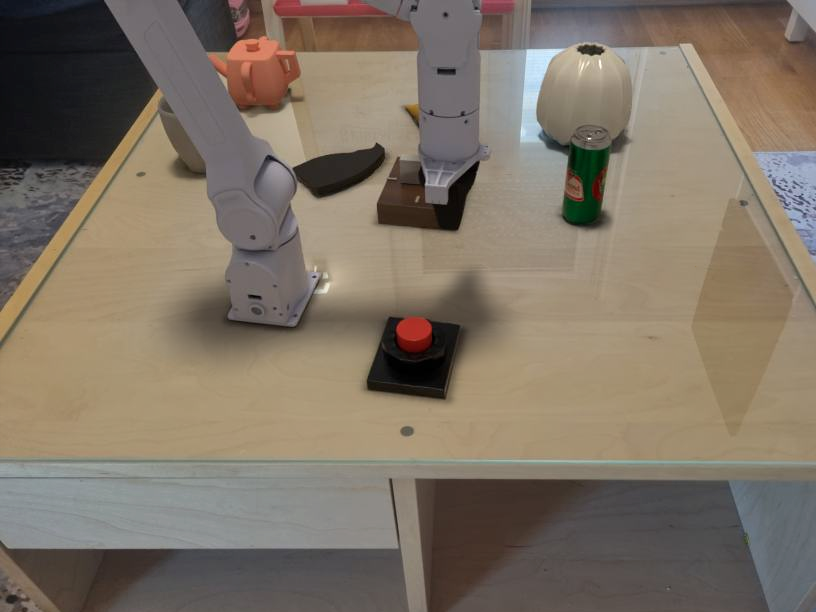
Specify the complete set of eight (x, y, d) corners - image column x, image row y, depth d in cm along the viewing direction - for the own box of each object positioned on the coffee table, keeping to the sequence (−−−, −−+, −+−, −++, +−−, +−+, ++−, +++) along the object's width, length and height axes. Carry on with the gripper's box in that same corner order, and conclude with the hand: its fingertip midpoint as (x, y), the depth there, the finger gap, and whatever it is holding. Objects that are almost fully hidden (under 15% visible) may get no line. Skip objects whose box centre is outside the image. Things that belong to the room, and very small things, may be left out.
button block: (444, 398, 75) (444, 377, 73) (367, 388, 76) (364, 368, 74) (460, 332, 82) (460, 311, 80) (389, 324, 83) (387, 303, 81)
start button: (428, 355, 76) (428, 342, 74) (393, 350, 76) (392, 338, 75) (435, 331, 78) (434, 318, 77) (401, 327, 79) (400, 315, 77)
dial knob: (400, 183, 99) (399, 157, 96) (403, 176, 100) (401, 151, 97) (445, 186, 98) (445, 161, 96) (447, 180, 99) (447, 155, 97)
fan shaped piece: (402, 170, 107) (402, 159, 106) (317, 199, 101) (315, 189, 100) (373, 146, 112) (372, 136, 111) (290, 173, 106) (288, 162, 105)
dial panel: (454, 230, 96) (454, 209, 94) (377, 222, 97) (375, 202, 95) (468, 181, 105) (469, 161, 103) (397, 175, 106) (396, 155, 104)
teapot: (211, 98, 124) (197, 39, 117) (275, 78, 129) (265, 21, 122) (245, 123, 117) (232, 63, 110) (310, 101, 123) (302, 42, 116)
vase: (528, 152, 111) (535, 63, 102) (543, 110, 121) (550, 25, 111) (622, 164, 108) (637, 74, 99) (629, 120, 118) (644, 34, 109)
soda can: (555, 209, 100) (564, 126, 91) (588, 202, 101) (600, 119, 93) (572, 230, 96) (583, 145, 88) (606, 222, 98) (621, 138, 89)
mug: (243, 171, 107) (229, 107, 100) (179, 184, 104) (161, 119, 97) (227, 134, 115) (213, 72, 108) (168, 145, 112) (150, 83, 105)
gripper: (480, 145, 64) (477, 271, 73) (501, 74, 74) (496, 192, 83) (399, 138, 65) (406, 264, 74) (431, 69, 75) (434, 186, 84)
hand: (449, 225), depth 79 cm, fingers closed
